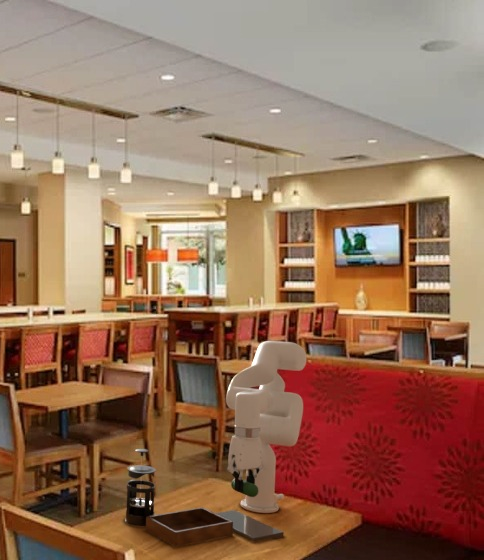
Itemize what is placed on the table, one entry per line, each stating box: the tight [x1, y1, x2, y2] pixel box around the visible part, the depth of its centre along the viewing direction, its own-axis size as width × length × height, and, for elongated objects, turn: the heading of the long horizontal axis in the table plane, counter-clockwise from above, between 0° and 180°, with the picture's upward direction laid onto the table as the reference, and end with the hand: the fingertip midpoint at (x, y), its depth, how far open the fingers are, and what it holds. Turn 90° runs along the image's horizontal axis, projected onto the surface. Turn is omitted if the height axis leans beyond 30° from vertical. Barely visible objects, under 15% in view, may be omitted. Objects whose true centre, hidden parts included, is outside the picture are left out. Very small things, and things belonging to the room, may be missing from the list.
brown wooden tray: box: [145, 506, 234, 547], centre depth 220 cm, size 22×15×4 cm
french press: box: [124, 448, 157, 527], centre depth 229 cm, size 12×9×23 cm
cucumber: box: [230, 478, 259, 497], centre depth 226 cm, size 4×10×4 cm, turn 29°
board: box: [214, 509, 285, 543], centre depth 227 cm, size 12×22×2 cm, turn 29°
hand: (244, 490), depth 226 cm, fingers closed on cucumber, 4 cm apart
